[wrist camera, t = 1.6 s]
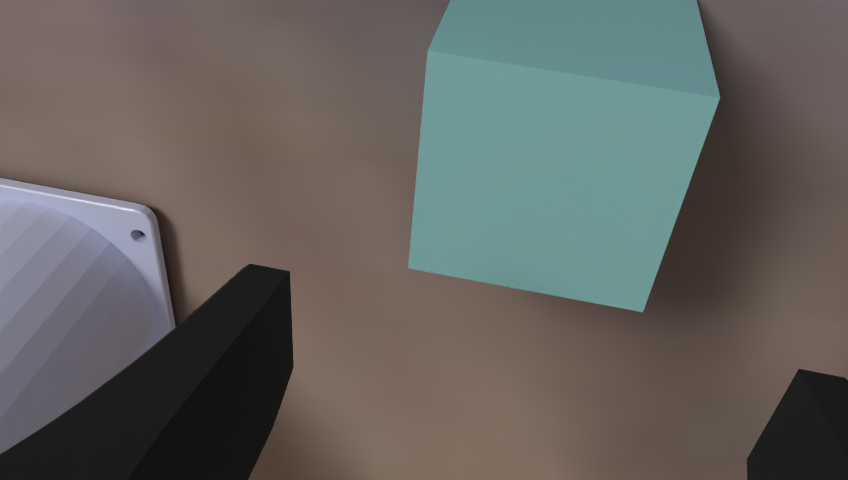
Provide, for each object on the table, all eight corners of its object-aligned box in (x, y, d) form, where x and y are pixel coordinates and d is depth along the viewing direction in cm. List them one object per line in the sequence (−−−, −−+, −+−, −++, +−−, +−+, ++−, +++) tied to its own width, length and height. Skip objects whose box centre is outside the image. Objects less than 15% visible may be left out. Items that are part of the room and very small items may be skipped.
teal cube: (636, 181, 20) (642, 312, 16) (446, 149, 20) (408, 267, 16) (694, -8, 17) (720, 97, 13) (468, -41, 17) (427, 51, 13)
